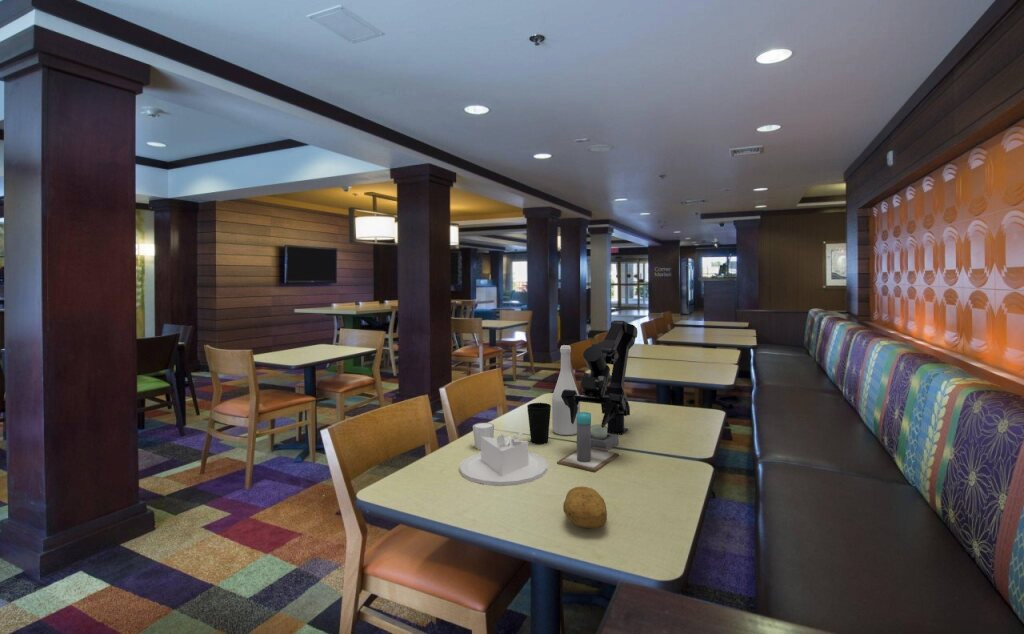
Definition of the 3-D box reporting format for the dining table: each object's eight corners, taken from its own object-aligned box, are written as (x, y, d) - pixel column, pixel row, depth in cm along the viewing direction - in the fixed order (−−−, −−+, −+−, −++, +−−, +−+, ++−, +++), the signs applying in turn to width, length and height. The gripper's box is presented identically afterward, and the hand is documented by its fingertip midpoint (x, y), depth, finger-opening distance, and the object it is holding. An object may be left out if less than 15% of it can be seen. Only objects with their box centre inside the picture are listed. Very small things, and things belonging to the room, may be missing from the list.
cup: (551, 438, 172) (551, 402, 171) (551, 445, 164) (550, 408, 163) (528, 437, 172) (528, 402, 171) (526, 445, 165) (526, 408, 164)
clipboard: (583, 448, 161) (583, 444, 161) (619, 455, 154) (619, 451, 154) (557, 463, 148) (557, 459, 148) (594, 472, 141) (594, 467, 141)
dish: (565, 466, 146) (565, 428, 146) (504, 494, 128) (504, 450, 127) (502, 448, 163) (502, 413, 162) (441, 470, 145) (440, 431, 144)
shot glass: (478, 451, 159) (477, 429, 159) (469, 445, 165) (469, 424, 165) (498, 448, 162) (497, 426, 162) (489, 442, 168) (488, 421, 168)
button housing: (592, 439, 170) (592, 430, 169) (618, 444, 164) (618, 435, 164) (579, 446, 162) (579, 437, 162) (606, 452, 157) (606, 442, 157)
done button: (595, 434, 167) (595, 423, 166) (609, 437, 164) (609, 426, 163) (588, 438, 163) (588, 427, 162) (602, 441, 160) (602, 430, 159)
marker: (585, 456, 151) (585, 411, 150) (593, 460, 148) (593, 414, 147) (573, 458, 149) (573, 413, 148) (582, 463, 146) (582, 416, 145)
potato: (563, 536, 107) (563, 504, 106) (563, 508, 120) (562, 479, 119) (608, 537, 106) (608, 505, 106) (603, 509, 119) (603, 480, 118)
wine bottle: (581, 435, 174) (581, 347, 171) (553, 436, 174) (552, 348, 171) (578, 427, 183) (577, 343, 181) (551, 427, 183) (550, 344, 181)
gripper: (562, 363, 158) (549, 407, 149) (623, 367, 149) (612, 414, 140) (572, 383, 165) (559, 426, 157) (629, 388, 157) (620, 434, 148)
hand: (586, 425), depth 150 cm, fingers open, 9 cm apart
